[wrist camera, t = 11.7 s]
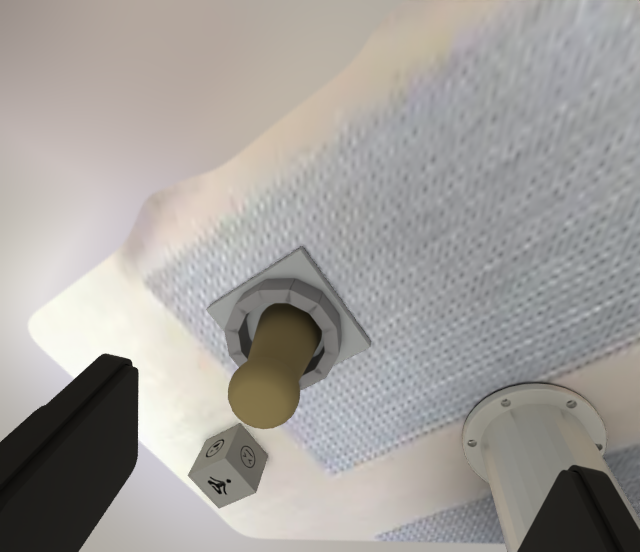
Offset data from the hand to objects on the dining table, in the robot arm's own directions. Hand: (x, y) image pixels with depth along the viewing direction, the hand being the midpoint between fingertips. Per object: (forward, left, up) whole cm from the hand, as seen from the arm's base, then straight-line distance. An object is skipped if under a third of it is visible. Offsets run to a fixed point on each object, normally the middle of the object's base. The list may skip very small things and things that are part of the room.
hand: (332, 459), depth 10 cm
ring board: (-6, +13, -28) cm, 32 cm away
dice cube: (-16, +27, -29) cm, 43 cm away
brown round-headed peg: (-6, +13, -28) cm, 31 cm away
